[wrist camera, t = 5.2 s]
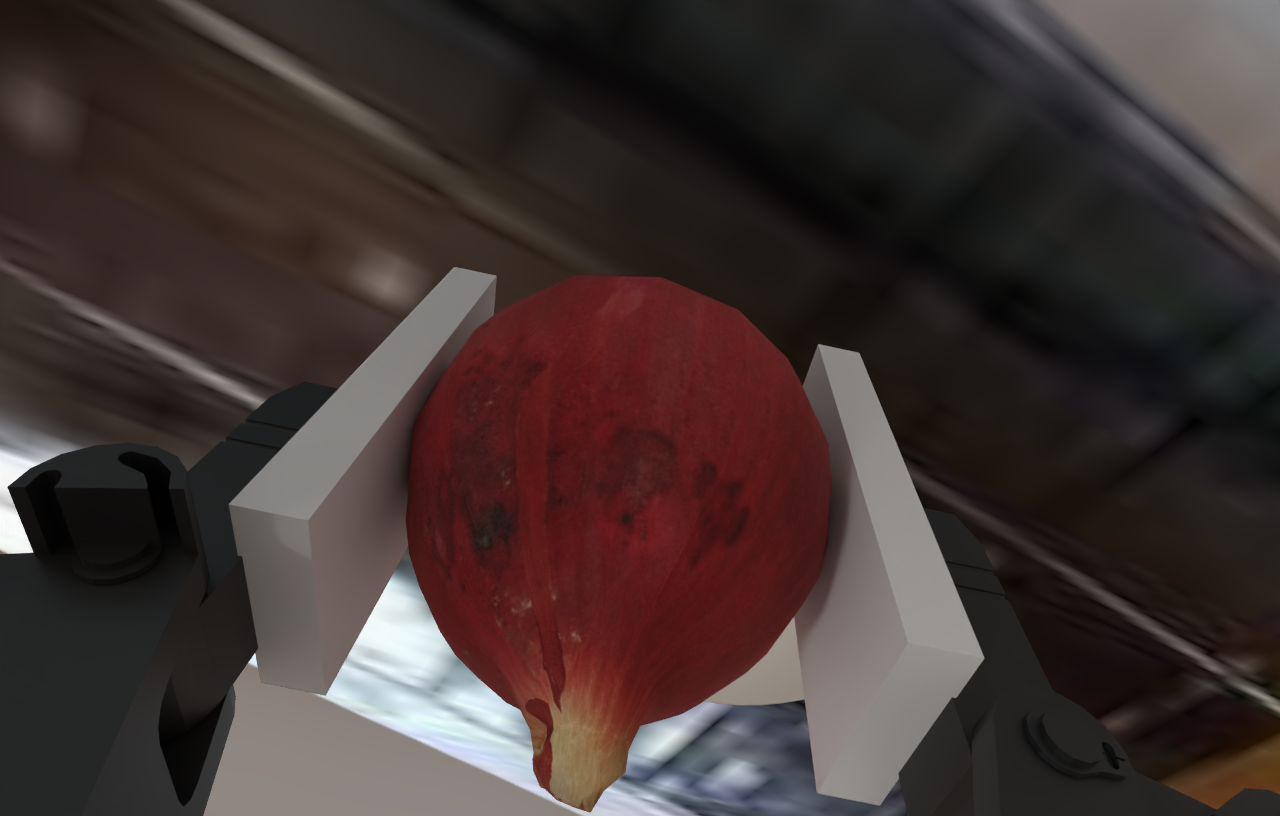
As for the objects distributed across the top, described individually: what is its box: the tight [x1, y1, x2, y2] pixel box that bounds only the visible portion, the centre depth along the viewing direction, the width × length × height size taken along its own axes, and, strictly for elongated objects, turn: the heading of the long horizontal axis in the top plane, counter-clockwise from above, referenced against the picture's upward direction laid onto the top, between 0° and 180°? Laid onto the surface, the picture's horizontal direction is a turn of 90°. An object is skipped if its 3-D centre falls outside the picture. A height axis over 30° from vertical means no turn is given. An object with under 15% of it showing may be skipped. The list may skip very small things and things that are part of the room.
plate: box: [705, 617, 805, 705], centre depth 34 cm, size 18×18×1 cm
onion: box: [406, 275, 831, 812], centre depth 9 cm, size 6×6×8 cm
